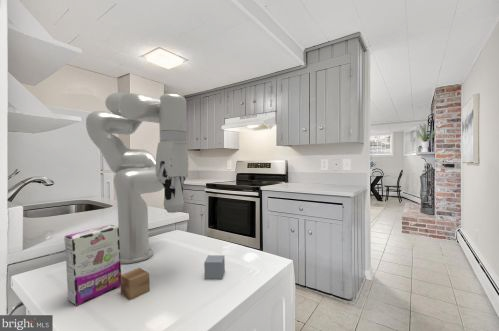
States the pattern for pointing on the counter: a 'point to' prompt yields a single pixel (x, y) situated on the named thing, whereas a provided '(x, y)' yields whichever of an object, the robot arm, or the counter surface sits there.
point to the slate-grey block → (214, 267)
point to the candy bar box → (92, 263)
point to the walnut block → (135, 283)
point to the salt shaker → (178, 201)
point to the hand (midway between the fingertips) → (174, 200)
